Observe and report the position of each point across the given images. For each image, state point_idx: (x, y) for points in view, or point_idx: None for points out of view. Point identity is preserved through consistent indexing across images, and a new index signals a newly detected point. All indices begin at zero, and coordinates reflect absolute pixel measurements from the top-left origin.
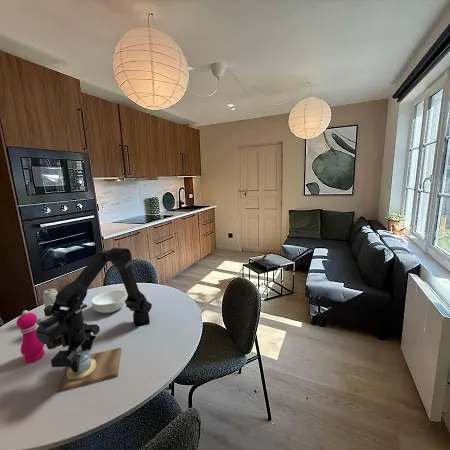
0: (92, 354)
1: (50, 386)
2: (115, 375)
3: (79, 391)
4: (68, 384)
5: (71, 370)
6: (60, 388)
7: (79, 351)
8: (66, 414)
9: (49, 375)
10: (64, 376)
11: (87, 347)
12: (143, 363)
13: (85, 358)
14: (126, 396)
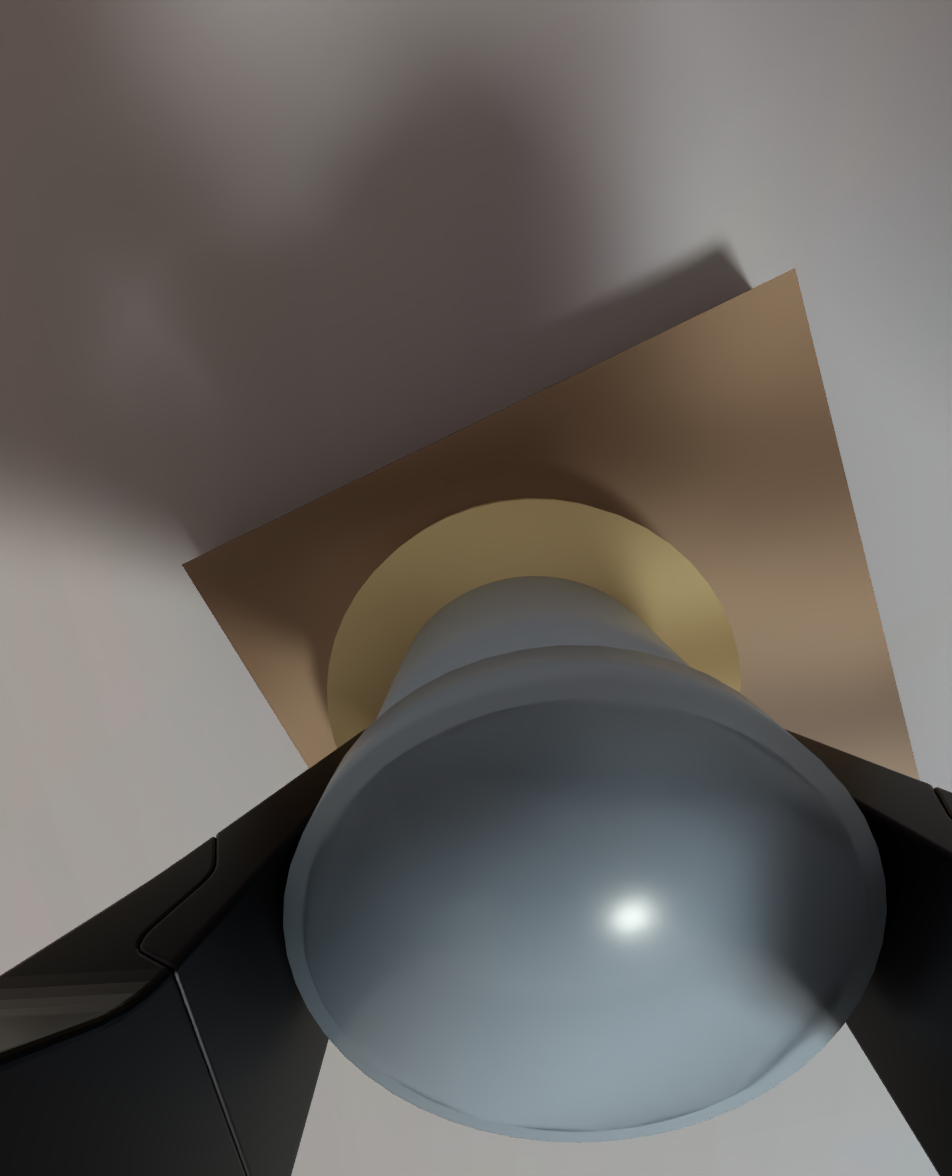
0: (869, 632)
1: (266, 375)
2: None
3: (273, 793)
4: (274, 668)
5: (466, 581)
6: (208, 599)
7: (761, 853)
8: (30, 835)
9: (452, 149)
10: (390, 506)
11: (922, 1051)
12: (665, 1151)
13: (471, 1107)
14: (304, 1152)
